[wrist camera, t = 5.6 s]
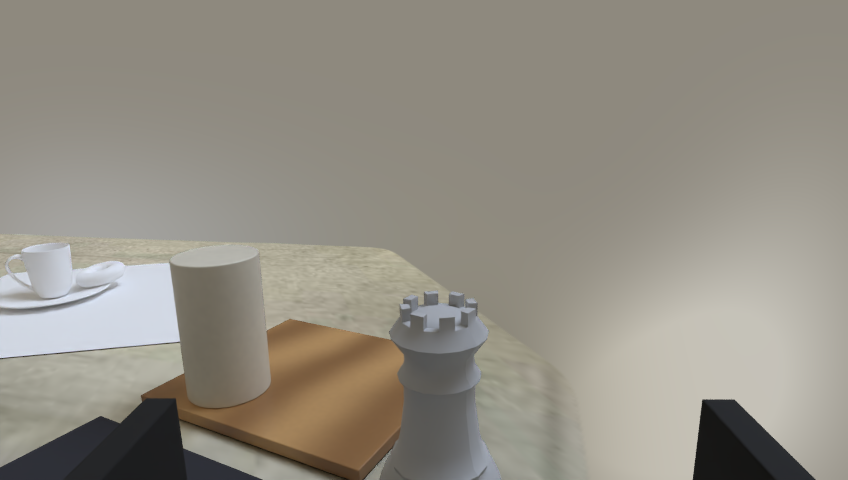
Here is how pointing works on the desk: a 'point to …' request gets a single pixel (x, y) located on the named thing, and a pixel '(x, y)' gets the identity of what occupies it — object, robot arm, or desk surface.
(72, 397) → the desk surface
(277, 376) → the brown square board
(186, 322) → the ivory piece
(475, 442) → the rook chess piece
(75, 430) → the dark mat
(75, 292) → the teacup and saucer
